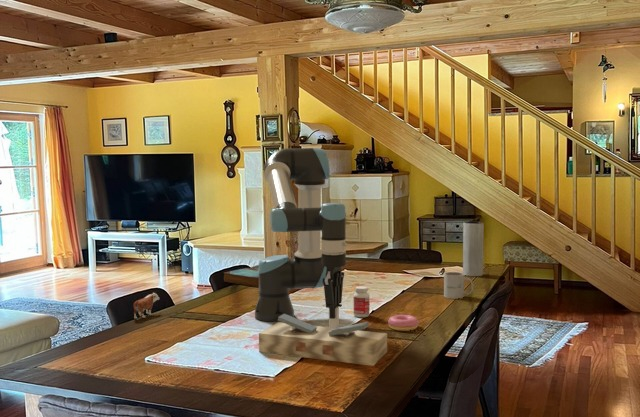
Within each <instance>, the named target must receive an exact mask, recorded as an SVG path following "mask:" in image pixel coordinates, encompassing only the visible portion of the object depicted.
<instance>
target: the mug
mask: <svg viewBox="0 0 640 417" xmlns="http://www.w3.org/2000/svg"><path fill="white" fill-rule="evenodd" d="M465 281H469V283H470V285H471V286H470V291H469V292H466V291H465ZM473 290H474V282H473V280H472V279H471V278H469V277H465V275H464V273H463V272H458V271H449V272H448V271H447V272H444V273H443V298H446V299H453V300H454V299H456V300H458V298H460V299H464V298H465V295H466V296H468V295H470V294H472V293H473ZM463 297H464V298H463Z"/></svg>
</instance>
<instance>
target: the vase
mask: <svg viewBox="0 0 640 417" xmlns="http://www.w3.org/2000/svg"><path fill="white" fill-rule="evenodd" d="M462 224H463V225H462V227H463V228H462V230H463V231H462V233H463V234H462V273H464V276H465V275H466V276H465V277H482V276H483V275H484V230H485V229H484V222H483V221H476V220H474V221H470V220H469V221H464V222H463V223H462Z"/></svg>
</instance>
